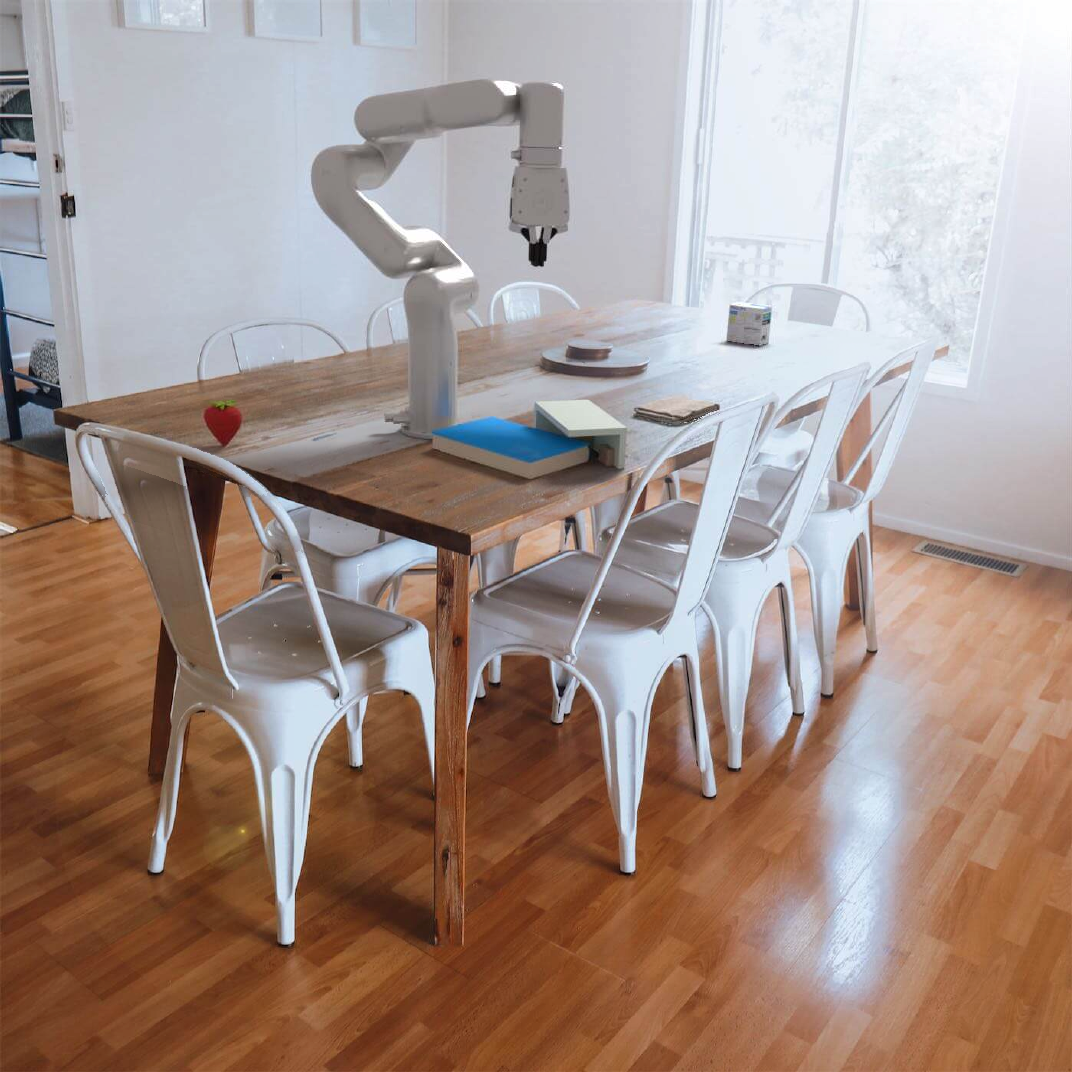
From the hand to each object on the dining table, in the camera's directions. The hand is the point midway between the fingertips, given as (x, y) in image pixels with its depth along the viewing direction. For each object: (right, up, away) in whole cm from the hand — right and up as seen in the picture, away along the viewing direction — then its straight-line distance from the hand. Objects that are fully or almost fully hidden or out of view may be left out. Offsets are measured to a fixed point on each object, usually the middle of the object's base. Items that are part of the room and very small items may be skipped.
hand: (537, 265), depth 203 cm
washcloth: (+30, -23, +41) cm, 56 cm away
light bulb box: (+60, +7, +121) cm, 136 cm away
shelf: (+8, -33, +10) cm, 35 cm away
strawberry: (-58, -32, +6) cm, 67 cm away
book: (-5, -34, +8) cm, 35 cm away
